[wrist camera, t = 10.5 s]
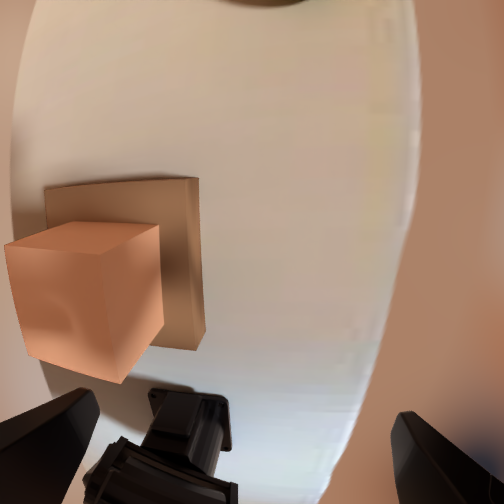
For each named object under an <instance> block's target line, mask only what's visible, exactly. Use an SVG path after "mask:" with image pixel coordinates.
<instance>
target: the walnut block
mask: <svg viewBox="0 0 504 504" xmlns="http://www.w3.org/2000/svg"><path fill="white" fill-rule="evenodd" d="M44 194H45V207H46V218H47V227H48V229H51V228H54V227H57V226H60V225H63V224H66V223H69V222H72V221H80V222H109V223H133V224H155V225H159V243H160V268H161V286H162V302H163V315H164V326H163V327H162V328H161V330H160V331H159V332H158V334H157V335H156V336H155V338H154V339H153V340H152V342H151V343H150V344H149V345H151V346H159V347H167V348H175V349H184V350H193V351H196V350H197V348H198V346H199V344H200V342H201V340H202V338H203V336H204V334H205V332H206V327H205V313H204V298H203V281H202V263H201V241H200V213H199V178H176V179H155V180H138V181H123V182H110V183H98V184H87V185H77V186H68V187H61V188H55V189H50V190H44Z"/></svg>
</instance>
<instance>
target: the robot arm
mask: <svg viewBox="0 0 504 504" xmlns="http://www.w3.org/2000/svg"><path fill="white" fill-rule="evenodd" d="M154 394H155V395H154ZM148 397H149V401H150V405H151V408H152V412H153V415H154V419H153V421H152V423H151V425H150V428H149V430H148V432H147V434H146V436H145V438H144V440H143V442H142V444H141V446H138V445H136V444H134V443H132V442H130V441H128V439H126V438H124V437H123V436H121V437H120V438H119V440H118V441H117V443H116V442H114V443H113V444H109V445H108V447H107V449H106V450H105V452H104V454H103V455H102V457H101V458H100V459H99V461H98V462H97V463H96V464H95V465H94V466H93V467H92V468H91V469H90V470H89V471H88V472H87V473H86V474H85V475H84V477H83V479H82V481H83V484H84V486H85V488H86V489H85V498H84V501H83V504H238V484H236V483H233V482H230V483H229V482H226V481H223V480H220V479H217V478H214V473H215V469H216V465H217V461H218V457H219V453H220V451H225V452H229V451H231V449H232V437H231V425H230V413H229V402H228V400H227V399H226V398H223V397H214V396H205V395H196V394H188V393H181V392H174V391H167V390H160V389H154V388H152V389H150V391H149V392H148ZM220 403H223V404H220ZM99 415H100V409H99V406H98V403H97V400H96V398H95V395H94V393H93V391H92V390H90V389H86V388H83V387H80V388H78V389H75V390H73V391H71V392H69V393H67V394H65V395H62V396H60V397H58V398H56V399H54V400H51V401H49V402H47V403H45V404H42V405H40V406H38V407H36V408H34V409H31V410H29V411H27V412H24V413H22V414H20V415H17V416H15V417H13V418H10V419H8V420H6V421H3V422H1V423H0V504H61V503H62V501H63V499H64V497H65V495H66V493H67V490H68V488H69V486H70V484H71V482H72V480H73V478H74V476H75V473H76V471H77V469H78V467H79V465H80V463H81V461H82V459H83V457H84V455H85V453H86V450H87V448H88V445H89V442H90V440H91V437H92V434H93V431H94V429H95V426H96V423H97V420H98V418H99ZM391 447H392V455H393V466H394V476H395V484H396V489H397V494H398V499H399V504H504V483H502V482H501V481H500V480H498V479H497V478H496V477H494V476H493V475H490V473H489V472H488V471H487V470H485V469H484V468H483V467H482V466H480V465H479V464H478V463H477V462H475V461H474V460H473V459H472V458H470V457H469V456H468V455H467V454H465V453H464V452H463V451H462V450H460V449H459V448H458V447H456V446H455V445H454V444H453V443H452V442H450V441H449V440H448V439H447V438H445V437H444V436H443V435H442V434H440V433H439V432H438V431H437V430H436V429H434V428H433V427H432V426H431V425H429V424H428V423H427V422H426V421H424V420H423V419H422V418H421V417H420V416H418V415H417V414H416V413H415V412H413V411H406V412H400V413H399V414H398V415H397V418H396V420H395V423H394V426H393V428H392V431H391Z"/></svg>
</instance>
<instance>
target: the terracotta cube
mask: <svg viewBox="0 0 504 504" xmlns="http://www.w3.org/2000/svg"><path fill="white" fill-rule="evenodd" d="M4 250H5V256H6V263H7V269H8V274H9V280H10V285H11V290H12V295H13V299H14V304H15V308H16V312H17V316H18V320H19V324H20V328H21V331H22V335H23V338H24V342H25V345H26V348H27V351H28V355H29V356H32V357H34V358H37V359H40V360H43V361H45V362H48V363H51V364H54V365H57V366H60V367H63V368H66V369H69V370H72V371H75V372H79V373H82V374H85V375H89V376H92V377H96V378H99V379H103V380H106V381H110V382H114V383H118V384H121V383H122V382H123V380H124V379H125V377H126V376H127V375H128V373H129V372H130V370H131V369H132V368H133V366H134V365H135V364H136V362H137V361H138V359H139V358H140V357H141V355H142V354H143V353H144V351H145V350H146V349H147V347H148V346H149V344H150V343H151V342H152V340H153V339H154V338H155V336H156V335H157V334H158V332H159V331H160V330H161V328H162V327H163V326H164V315H163V302H162V286H161V268H160V243H159V225H155V224H133V223H109V222H80V221H72V222H69V223H66V224H63V225H60V226H57V227H54V228H51V229H48V230H45V231H42V232H39V233H36V234H33V235H31V236H28V237H25V238H22V239H20V240H17V241H14V242H11V243H9V244H6V245H4Z"/></svg>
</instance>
